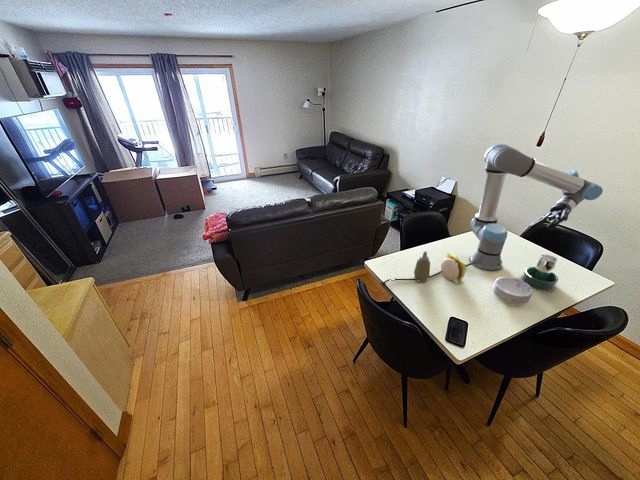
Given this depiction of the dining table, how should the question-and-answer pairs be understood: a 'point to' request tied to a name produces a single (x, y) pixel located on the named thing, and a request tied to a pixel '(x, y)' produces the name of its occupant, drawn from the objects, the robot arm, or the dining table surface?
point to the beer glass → (544, 267)
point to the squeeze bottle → (422, 268)
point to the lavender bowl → (512, 290)
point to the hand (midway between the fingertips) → (536, 231)
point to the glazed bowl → (539, 284)
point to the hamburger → (453, 268)
